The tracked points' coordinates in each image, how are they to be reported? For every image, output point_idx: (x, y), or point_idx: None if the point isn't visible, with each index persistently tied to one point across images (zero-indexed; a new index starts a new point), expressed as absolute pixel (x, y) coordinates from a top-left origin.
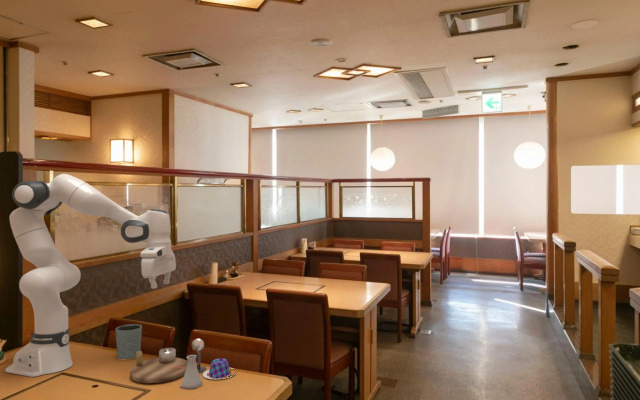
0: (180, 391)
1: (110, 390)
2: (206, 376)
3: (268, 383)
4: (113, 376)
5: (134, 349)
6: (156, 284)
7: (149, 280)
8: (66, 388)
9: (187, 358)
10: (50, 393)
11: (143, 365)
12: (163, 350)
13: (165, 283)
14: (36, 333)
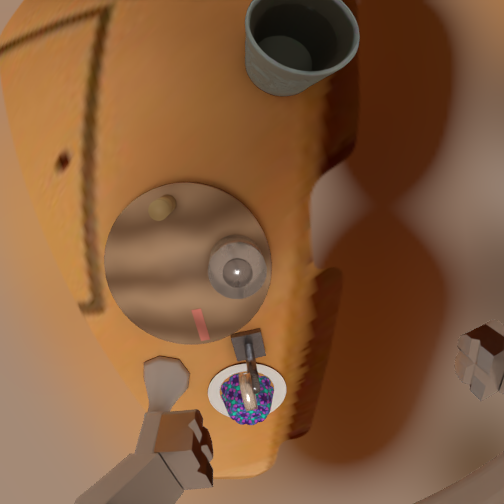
0: (131, 370)
1: (58, 222)
2: (220, 378)
3: (239, 464)
4: (122, 150)
5: (274, 87)
6: (192, 478)
7: (86, 495)
8: (33, 112)
9: (144, 415)
10: (10, 109)
11: (171, 216)
12: (224, 265)
13: (462, 352)
14: None
